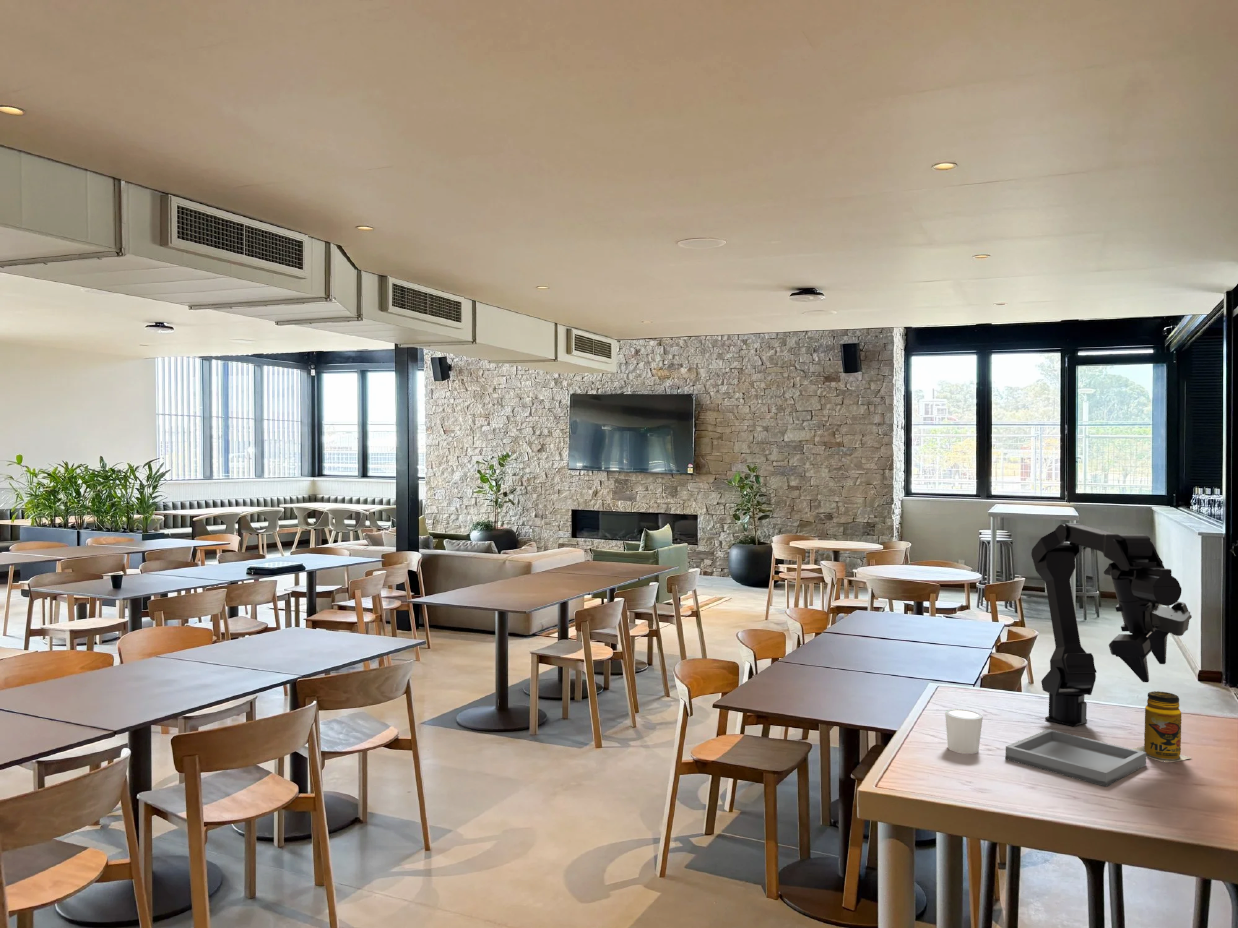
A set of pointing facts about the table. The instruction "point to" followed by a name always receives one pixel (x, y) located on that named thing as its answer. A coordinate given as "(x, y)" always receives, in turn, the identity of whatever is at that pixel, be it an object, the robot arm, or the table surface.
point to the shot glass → (963, 730)
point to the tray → (1076, 757)
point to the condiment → (1162, 728)
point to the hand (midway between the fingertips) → (1154, 672)
